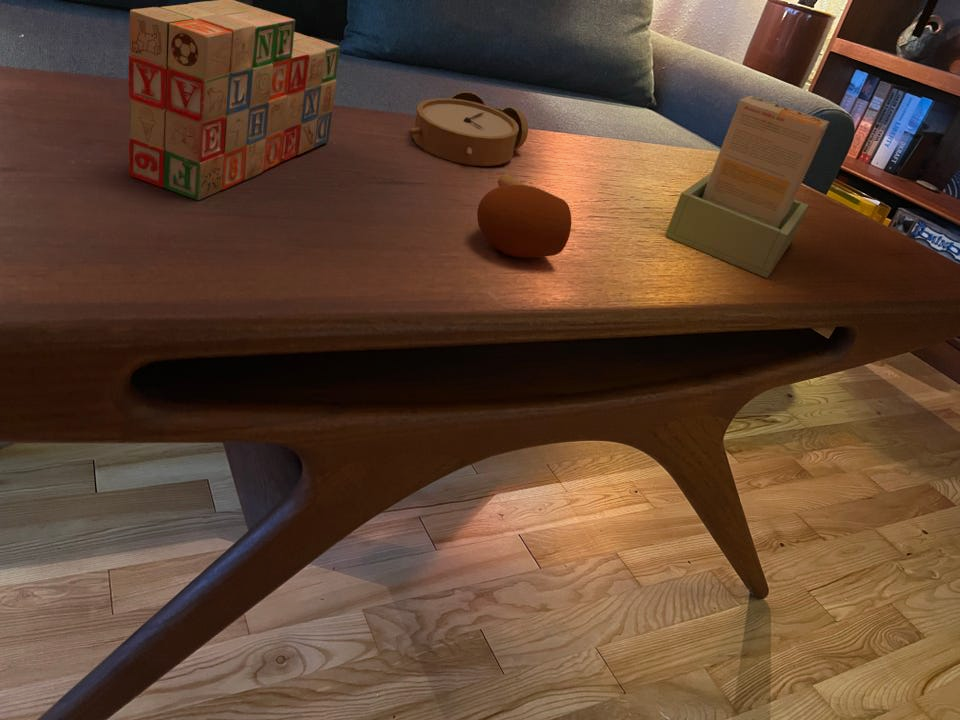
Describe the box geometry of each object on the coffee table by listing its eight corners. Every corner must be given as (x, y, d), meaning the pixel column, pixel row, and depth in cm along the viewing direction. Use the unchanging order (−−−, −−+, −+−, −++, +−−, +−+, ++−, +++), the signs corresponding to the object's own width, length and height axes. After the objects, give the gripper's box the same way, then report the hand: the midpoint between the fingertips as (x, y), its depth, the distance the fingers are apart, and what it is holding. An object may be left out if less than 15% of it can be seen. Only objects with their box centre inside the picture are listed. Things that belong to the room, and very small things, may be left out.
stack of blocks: (273, 124, 78) (286, -8, 72) (329, 143, 77) (347, 12, 71) (127, 176, 60) (127, 5, 53) (198, 202, 59) (207, 32, 53)
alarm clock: (394, 111, 81) (466, 73, 92) (391, 154, 84) (460, 113, 95) (488, 148, 78) (551, 105, 89) (480, 191, 81) (542, 145, 92)
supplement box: (774, 244, 82) (832, 121, 75) (765, 255, 78) (825, 127, 71) (701, 214, 84) (751, 93, 78) (688, 224, 81) (740, 97, 74)
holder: (790, 244, 85) (809, 204, 83) (766, 278, 74) (787, 234, 72) (699, 207, 88) (715, 169, 86) (664, 236, 77) (681, 192, 75)
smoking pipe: (476, 261, 62) (493, 193, 59) (454, 178, 77) (467, 120, 74) (561, 275, 63) (582, 209, 60) (523, 191, 79) (538, 135, 76)
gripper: (797, -322, 60) (697, -24, 71) (1162, -268, 52) (986, 58, 63) (810, -293, 66) (716, -22, 77) (1139, -240, 58) (982, 53, 69)
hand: (837, 14), depth 70 cm, fingers open, 13 cm apart
